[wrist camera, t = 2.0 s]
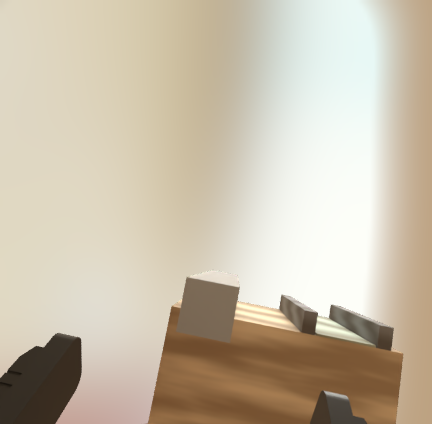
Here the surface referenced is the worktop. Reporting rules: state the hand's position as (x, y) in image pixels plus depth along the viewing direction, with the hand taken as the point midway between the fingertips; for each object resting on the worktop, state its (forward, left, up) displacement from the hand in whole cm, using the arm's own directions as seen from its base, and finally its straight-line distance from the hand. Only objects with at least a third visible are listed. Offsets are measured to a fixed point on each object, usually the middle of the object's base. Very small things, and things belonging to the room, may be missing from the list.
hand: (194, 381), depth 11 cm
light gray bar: (+19, +14, -1) cm, 24 cm away
